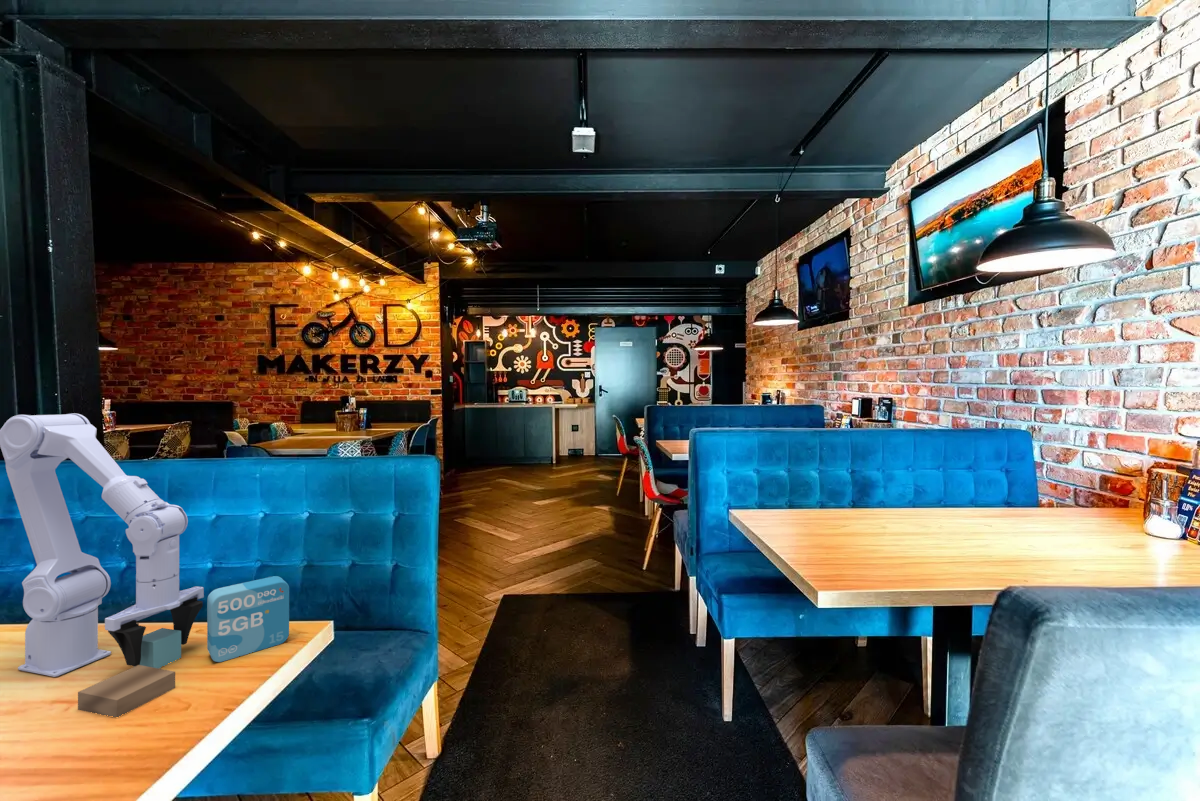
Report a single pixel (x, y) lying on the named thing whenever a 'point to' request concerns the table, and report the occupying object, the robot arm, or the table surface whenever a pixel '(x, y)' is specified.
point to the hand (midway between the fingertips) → (158, 653)
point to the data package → (247, 618)
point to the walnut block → (126, 691)
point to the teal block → (160, 648)
